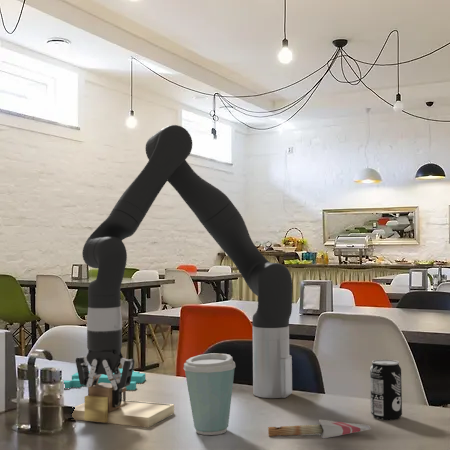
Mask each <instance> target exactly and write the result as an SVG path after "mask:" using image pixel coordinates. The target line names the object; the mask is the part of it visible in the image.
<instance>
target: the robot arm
mask: <svg viewBox="0 0 450 450" xmlns="http://www.w3.org/2000/svg"><path fill="white" fill-rule="evenodd" d="M192 139H193V138H192V136H191V133H190V132H189V131H188V130H187V129H186V128H185V127H183V126H181V125H179V124H177V125H176V124H171V125H167V126H164V127H163V128H161V129H160V130H158V131H156V133H154V134H153V135H152V136H150V137H149V138H148V139H147V142H146V143H145V153H146V157H147V159H148V161H147V163H146V164H145V166H144V167H143V168H142V170H141V172H140V173H139V174H138V175H137V176H136V177H135V178H134V180H133V181H132V182H131V183H130V185H129V186H128V187H127V188H126V189H125V191H123V193H122V195H121V196H119V199H118V201H117V202H116V203H115V205H114V206H113V208H112V210H111V211H110V212H109V215H108V216H107V217H106V218H105V220H103V221H102V222H101V223H100V225H99V226H98V227H97V228H96V229H95V230H94V231H93V232H92V233H91V234H90V235H89V236H88V238H87V239H86V241H85V243H84V245H83V248H82V255H81V256H82V259H83V261H84V263H85V264H86V265H87V266H88V267H90V268H93V269H97V275H96V279H94V280H93V281H91V282H89V284H88V287H87V288H88V290H87V295H88V296H87V298H88V301H87V305H88V306H87V316H86V337H87V338H86V346H87V347H86V348H87V350H88V353H87V354H86V355H83V356H78V357H76V358H75V365H76V366H75V367H76V370H77V372H78V376H79V381H80V384H81V385H83V384H84V385H86V387H87V396H88V395H89V387H90V386H93V385H96V384H97V383H98V380H99V378H100V376H101V375H102V374H104V375H107V377H108V380H109V381H110V382H111V385H112V388H113V390H112V407H115V408H116V407H118V406H120V404H121V403H122V400H123V393H122V388H124V387H126V386H129V385H130V382H131V377H132V372H133V370H134V367H135V359H133V358H130V359H128V358H124V357H123V354H122V348H123V319H122V318H123V316H122V307H121V305H122V304H121V301H122V300H121V298H122V297H121V296H122V295H121V288H122V284H123V280H124V275H125V271H126V266H127V261H128V255H127V254H128V253H127V249H126V246H125V243H124V242H123V240H125V239H127V238H130V237H132V236H133V235H134V234H135V233H136V231H137V230H138V228H139V227H140V225H141V223H142V221H143V220H144V219H145V217H146V216H147V213H148V212H149V210H150V209H151V207H152V205H153V204H154V202H155V200H156V199H157V197H158V196H159V194H160V192H161V190H162V189H163V187H164V186H165V184H166V183H167V182H168V184H170V186H172V187H173V189H174V190H175V191H176V192H177V193H178V195H179V196H180V197H181V199H182V200H183V202H185V204H186V205H187V206H188V208H189V209H190V210H191V211H192V213H193V214H194V215H195V217H196V218H197V219H198V221H199V222H200V223H201V225H202V226H203V228H205V230H206V231H207V232H208V233H209V235H210V236H211V237H212V238H213V240H214V241H215V242H216V244H217V245H218V246H219V247H220V248H221V250H223V252H224V253H225V254H226V255H227V256H228V257H229V259H230V260H231V261H232V262H233V264H234V266H235V267H236V269H237V270H238V271H239V274H240V275H241V277H242V278H243V280H244V281H245V284H246V285H247V286H248V288H249V290H251V292H252V293H253V294H254V295H255V296H257V309H256V312H255V313H253V315H252V390H253V391H252V392H253V393H252V394H253V395H254V396H256V397H259V398H264V399H265V398H267V399H278V398H279V399H280V398H284V399H286V398H287V397H289V396H290V395H291V394H292V393H293V365H292V364H293V360H292V358H293V357H292V355H291V354H290V318H291V315H292V313H293V278H292V273H291V272H290V270H289V269H288V267H286V266H285V265H284V264H281V263H279V262H278V263H277V262H271V261H269V260H268V259H267V258H266V257H265V256H264V255H263V253H262V252H261V251H260V250H259V249H258V248H257V246H256V245H255V244H254V242H253V240H252V238H251V236H250V234H249V230H248V227H247V225H246V222H245V219H244V218H243V216H242V214H241V213H240V211H239V209H238V208H237V207H236V206H235V205H234V203H233V202H232V200H231V199H230V198H229V197H228V196H227V194H225V193H224V191H222V190H221V189H219V188H217V187H216V186H214V185H213V184H212V183H210V182H208V181H207V180H206V179H203V178H202V177H201V176H200V175H198V173H197V172H195V170H194V169H193V168H192V167H191V165H190V164H189V163H188V161H187V160H186V159H188V157H189V156H190V155H191V152H192V149H193V140H192ZM88 365H89V366H90V369H89V366H88ZM120 367H121V369H123V370H122V375H121V373H120V370H119V369H120ZM89 371H90V372H89ZM113 373H114V374H113Z"/></svg>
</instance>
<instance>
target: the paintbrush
mask: <svg viewBox="0 0 450 450" xmlns="http://www.w3.org/2000/svg"><path fill="white" fill-rule="evenodd" d="M318 421H319V423H320V424H304V425H303V424H302V425H283V426H279V427H277V426H269V427H267V430H268V432H267V433H268V434H267V435H268V437H277V436H281V437H283V436H288V437H289V436H302V435H303V436H304V435H306V436H307V435H320V436H321V438H322V439H327V438H332V437H333V438H334V437H339V436H342V435H343V436H344V435H348V434H352V433H357V432H363V431H368V430H372V428H371V426H370V425H368V424H361V423H353V422H345V421H335V420H325V419H318Z"/></svg>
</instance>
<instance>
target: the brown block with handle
mask: <svg viewBox="0 0 450 450" xmlns="http://www.w3.org/2000/svg"><path fill="white" fill-rule="evenodd" d="M112 390H113V388H112V385H111V383H99V384H96V385H93V386H90V387H89V395H88V394H87V395H85V396H84V403H85V420H87V421H86V422H94V421H96V422H95V423H103V422H106V421H108V412H111V411H113V410H115V409H117V408H120V407H121V404H120V406H118V407H116V408H115V407H112ZM127 391H128V390H127V387H124V388H122V400H123V401H125V400H127V399H126V398H127V397H126V396H127V395H126V394H127Z"/></svg>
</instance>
